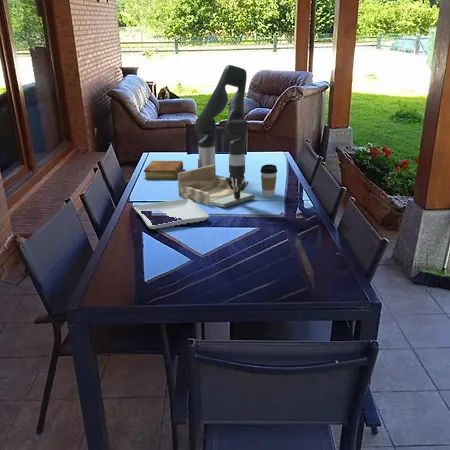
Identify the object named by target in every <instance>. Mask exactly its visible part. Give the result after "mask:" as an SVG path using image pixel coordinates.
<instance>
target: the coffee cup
mask: <svg viewBox="0 0 450 450" xmlns="http://www.w3.org/2000/svg"><path fill="white" fill-rule="evenodd" d="M277 167H278V166H277V165H275V164H272V163H271V164H270V163H269V164H268V163H267V164H263V165H262V166H261V168H260V174H261V175H260V179H261V181H260V182H261V189H262V190H261V192H262V193H261V195H262V196H263V197H267V198H271V197H274V196H275V193H276V183H277V173H278V168H277Z"/></svg>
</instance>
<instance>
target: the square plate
mask: <svg viewBox="0 0 450 450" xmlns="http://www.w3.org/2000/svg"><path fill="white" fill-rule="evenodd" d="M133 209H134V210H135V212H137V213H138V214H139V216H140V217H141V219H142V220H143V222H144V223H145V224H146V227H148V228H149V229H151V230H156V229H157V228H158V229H164V227H165V228H170V226H171V227H175V225H177V226H182V225H181V224H183V225H188V224H187V223H190V224H194V222H195V223H199V222H200V221H201V222H204V221H206V220H207V219H208V218H210V214H208V212H206V211H205V210H203V209H202V207H200V206H199V205H197V204H196V203H195V201H192V200H190V199H186V198H184V199H183V198H182V199H175V200H173V199H172V200H166V201H159V202H154V203H153V202H152V203H146V204H141V205H136V206H133ZM157 210H159V211H162V212H163V213H166V214H167V216H169V217H174V218H175V217H176V218H177V219H178V218H181V219H182V220H177V221H172V222H168V223H163V224H158V225H152V223H151V221H150V220H149V219H148V218H147V217H146V216H145V215H144V214H142V213H141V211H157ZM166 214H165V215H166ZM176 218H175V219H176Z"/></svg>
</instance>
